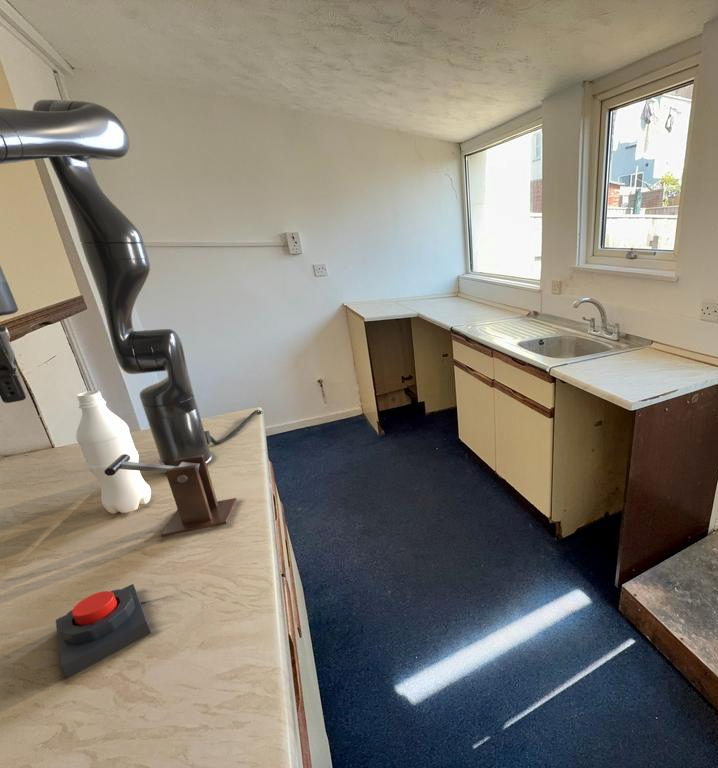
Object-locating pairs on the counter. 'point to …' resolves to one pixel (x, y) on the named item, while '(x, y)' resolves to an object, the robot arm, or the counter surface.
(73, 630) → the control block
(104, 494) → the water bottle
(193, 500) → the bracket
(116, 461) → the lever
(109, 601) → the button
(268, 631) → the counter surface
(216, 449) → the counter surface
